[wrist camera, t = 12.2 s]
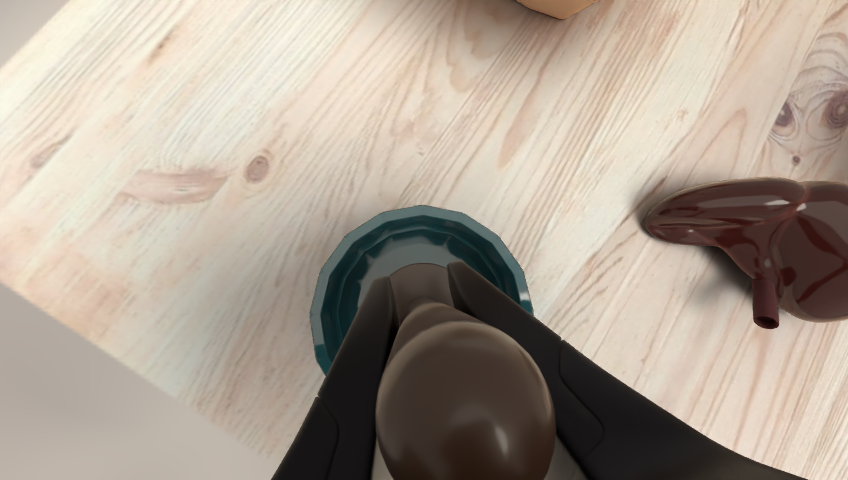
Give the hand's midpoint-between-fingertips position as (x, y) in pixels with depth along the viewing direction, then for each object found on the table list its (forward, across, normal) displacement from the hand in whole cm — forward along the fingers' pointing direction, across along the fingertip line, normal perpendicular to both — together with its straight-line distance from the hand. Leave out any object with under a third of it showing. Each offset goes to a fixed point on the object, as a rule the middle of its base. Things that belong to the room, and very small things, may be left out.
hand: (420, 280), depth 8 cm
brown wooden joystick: (+4, 0, +6) cm, 7 cm away
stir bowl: (+6, 0, +8) cm, 10 cm away
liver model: (+6, -21, +8) cm, 23 cm away
